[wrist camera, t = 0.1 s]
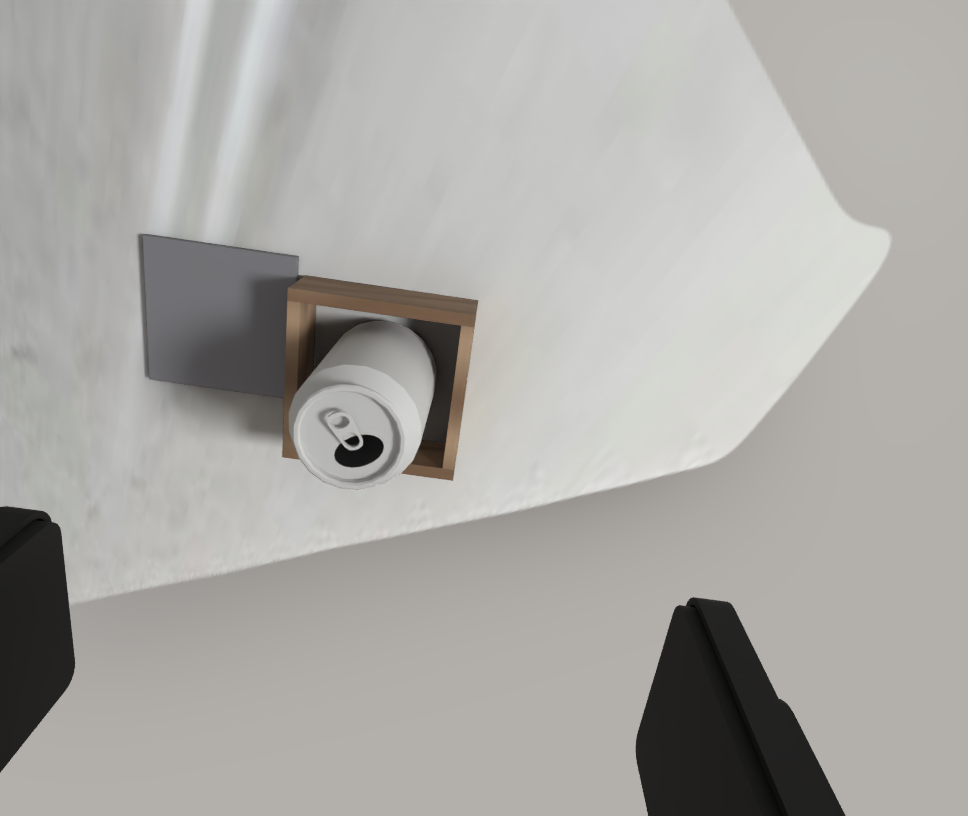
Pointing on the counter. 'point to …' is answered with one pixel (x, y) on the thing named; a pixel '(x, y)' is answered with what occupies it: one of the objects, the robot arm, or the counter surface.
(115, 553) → the counter surface
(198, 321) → the rubber mat
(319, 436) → the can
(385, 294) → the walnut box
